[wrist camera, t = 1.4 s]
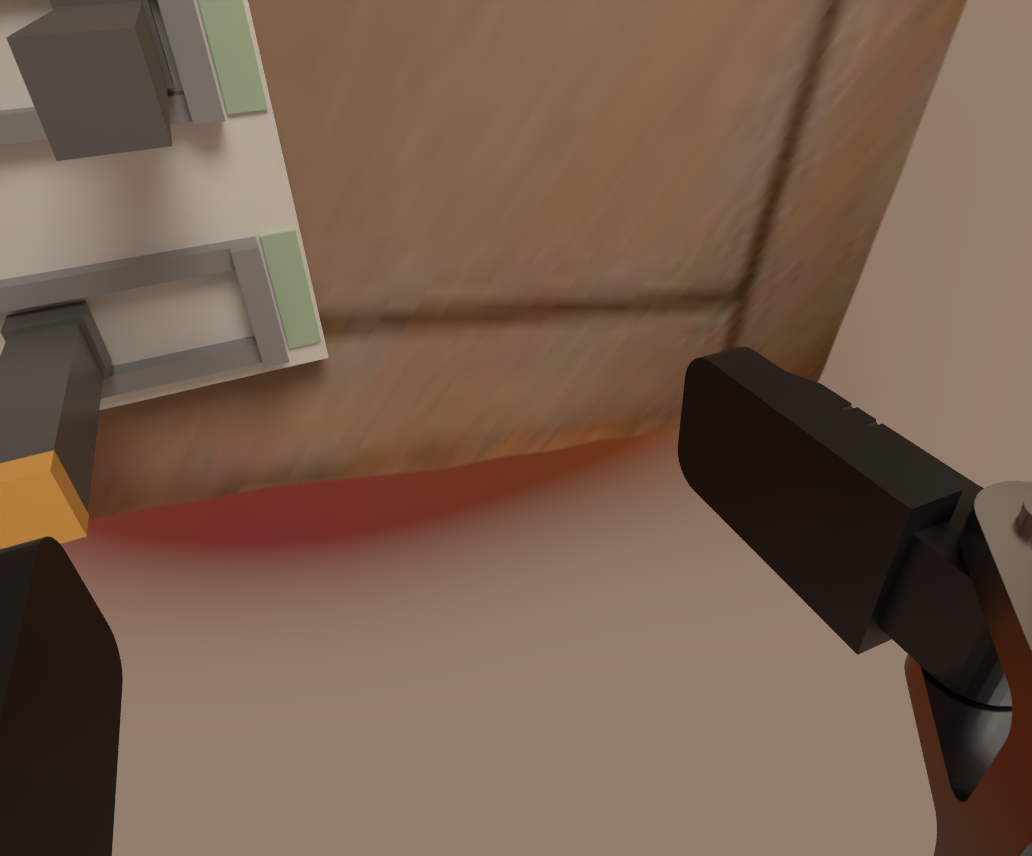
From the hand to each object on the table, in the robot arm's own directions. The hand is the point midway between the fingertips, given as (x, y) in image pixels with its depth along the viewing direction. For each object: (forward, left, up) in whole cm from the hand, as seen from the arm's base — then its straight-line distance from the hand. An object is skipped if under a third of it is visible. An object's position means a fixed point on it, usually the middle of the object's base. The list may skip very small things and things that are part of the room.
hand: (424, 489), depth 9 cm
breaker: (-1, -12, -26) cm, 29 cm away
